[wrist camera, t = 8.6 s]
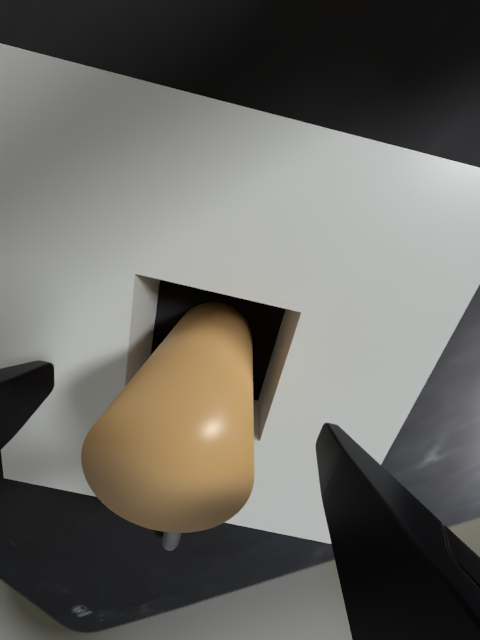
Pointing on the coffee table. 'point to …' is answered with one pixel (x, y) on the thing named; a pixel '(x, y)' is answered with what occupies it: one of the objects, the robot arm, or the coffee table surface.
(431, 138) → the coffee table surface
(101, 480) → the tan peg
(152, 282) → the grey board with hole
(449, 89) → the coffee table surface
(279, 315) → the coffee table surface
